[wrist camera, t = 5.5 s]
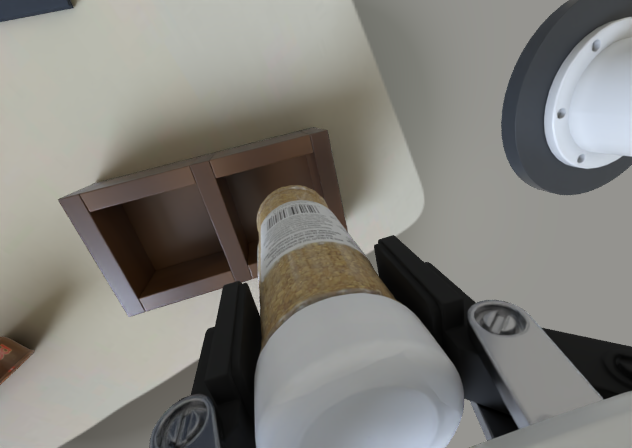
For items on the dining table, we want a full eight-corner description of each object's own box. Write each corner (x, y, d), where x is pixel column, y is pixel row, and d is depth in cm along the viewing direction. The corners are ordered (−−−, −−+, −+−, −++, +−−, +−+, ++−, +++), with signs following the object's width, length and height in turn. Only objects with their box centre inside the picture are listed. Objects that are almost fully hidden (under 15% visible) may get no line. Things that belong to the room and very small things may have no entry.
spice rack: (314, 127, 23) (327, 129, 19) (335, 228, 26) (351, 248, 22) (94, 183, 21) (57, 199, 17) (148, 284, 24) (128, 317, 20)
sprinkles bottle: (258, 253, 19) (259, 533, 6) (254, 183, 17) (244, 372, 5) (328, 248, 19) (453, 488, 7) (331, 181, 18) (497, 337, 5)
